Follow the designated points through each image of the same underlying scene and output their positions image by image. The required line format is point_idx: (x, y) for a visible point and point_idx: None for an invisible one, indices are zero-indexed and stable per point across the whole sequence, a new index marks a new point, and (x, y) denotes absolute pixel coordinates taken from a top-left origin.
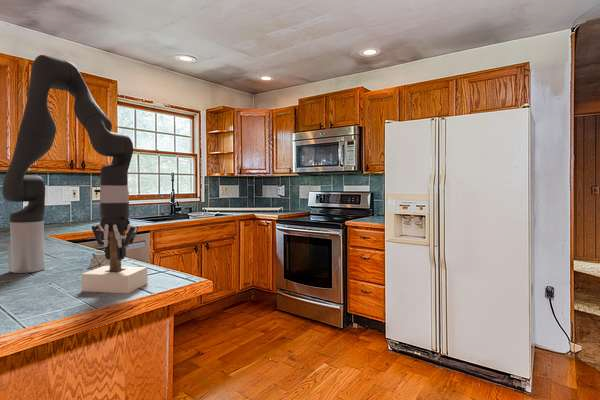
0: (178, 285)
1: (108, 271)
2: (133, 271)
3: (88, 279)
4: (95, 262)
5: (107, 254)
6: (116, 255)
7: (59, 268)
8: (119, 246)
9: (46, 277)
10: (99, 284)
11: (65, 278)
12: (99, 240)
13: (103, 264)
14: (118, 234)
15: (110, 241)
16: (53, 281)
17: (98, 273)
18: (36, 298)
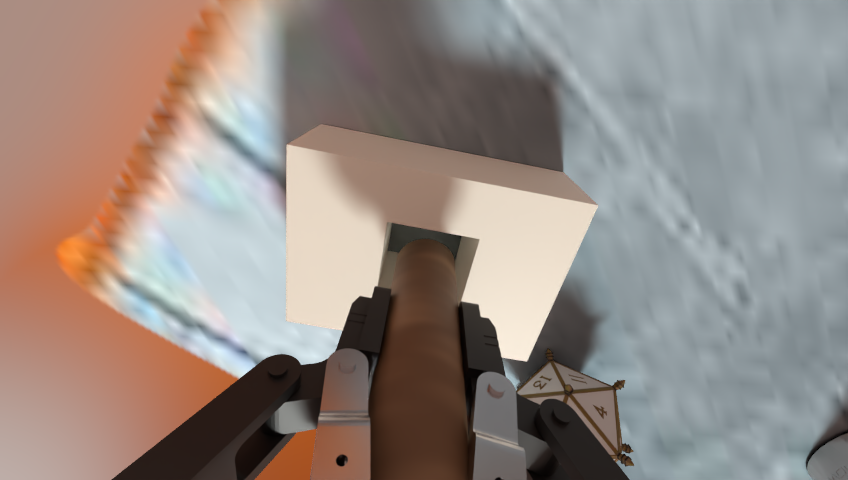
0: (157, 232)
1: (468, 270)
2: (309, 239)
3: (544, 185)
4: (594, 409)
5: (472, 324)
6: (397, 307)
7: (749, 465)
8: (355, 356)
9: (777, 372)
10: (475, 164)
11: (694, 355)
12: (572, 440)
13: (550, 398)
14: (315, 472)
15: (441, 406)
16: (735, 321)
17: (496, 207)
18: (760, 62)
